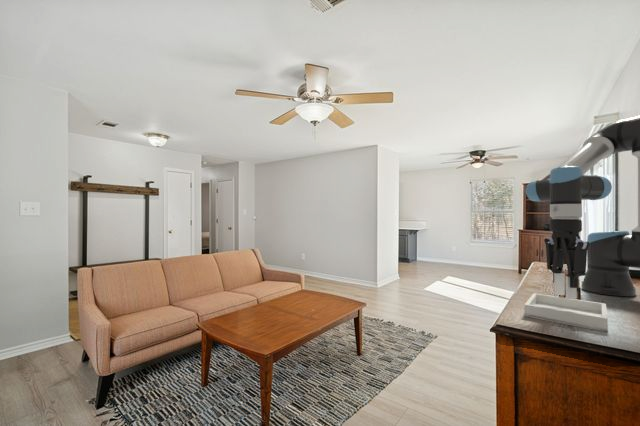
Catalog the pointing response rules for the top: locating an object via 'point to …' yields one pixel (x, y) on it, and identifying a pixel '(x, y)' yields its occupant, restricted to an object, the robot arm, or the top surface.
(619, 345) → the top surface
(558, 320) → the tray
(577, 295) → the ammunition clip
